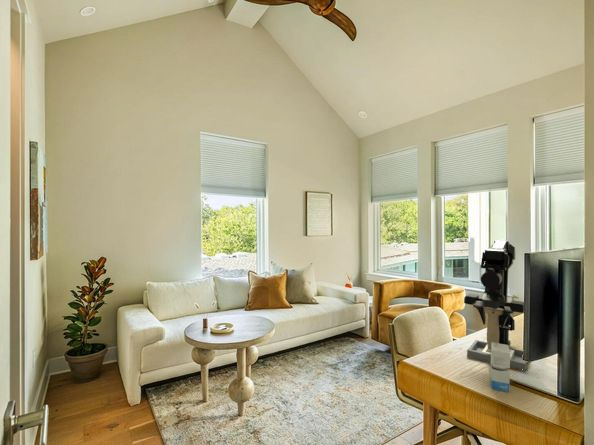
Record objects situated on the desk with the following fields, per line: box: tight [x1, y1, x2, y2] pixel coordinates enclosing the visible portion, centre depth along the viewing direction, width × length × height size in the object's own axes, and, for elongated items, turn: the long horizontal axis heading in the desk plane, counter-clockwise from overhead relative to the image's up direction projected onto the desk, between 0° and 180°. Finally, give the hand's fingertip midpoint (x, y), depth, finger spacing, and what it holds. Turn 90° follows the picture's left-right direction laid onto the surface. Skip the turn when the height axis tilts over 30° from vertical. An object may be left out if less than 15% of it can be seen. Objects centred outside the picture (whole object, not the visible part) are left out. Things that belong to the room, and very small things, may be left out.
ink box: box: [489, 342, 511, 393], centre depth 104 cm, size 8×5×12 cm, turn 151°
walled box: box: [466, 339, 529, 371], centre depth 125 cm, size 14×18×2 cm
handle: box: [483, 307, 504, 350], centre depth 122 cm, size 5×6×15 cm
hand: (493, 326), depth 122 cm, fingers closed on handle, 5 cm apart
